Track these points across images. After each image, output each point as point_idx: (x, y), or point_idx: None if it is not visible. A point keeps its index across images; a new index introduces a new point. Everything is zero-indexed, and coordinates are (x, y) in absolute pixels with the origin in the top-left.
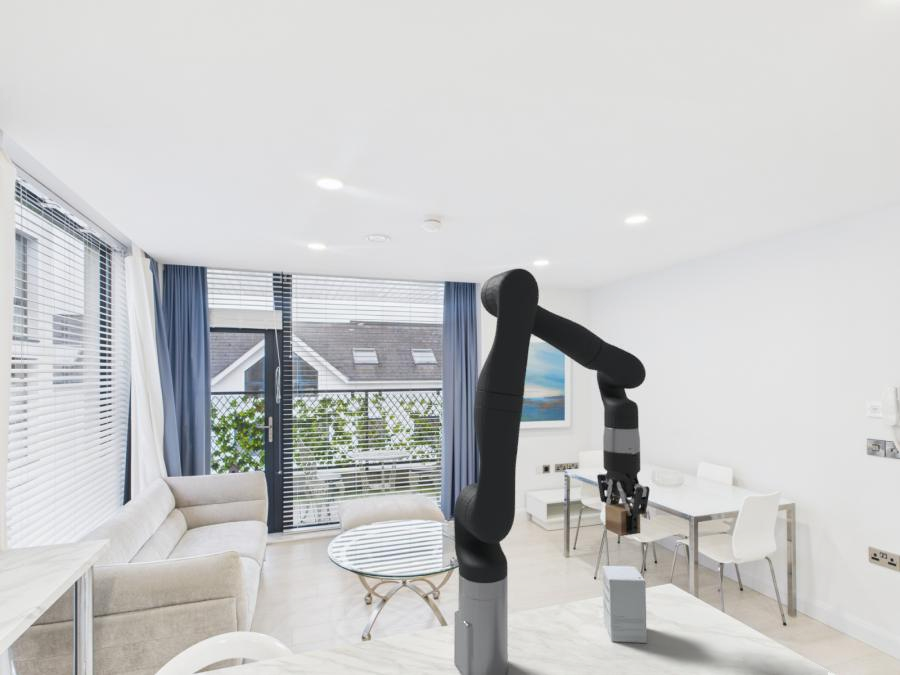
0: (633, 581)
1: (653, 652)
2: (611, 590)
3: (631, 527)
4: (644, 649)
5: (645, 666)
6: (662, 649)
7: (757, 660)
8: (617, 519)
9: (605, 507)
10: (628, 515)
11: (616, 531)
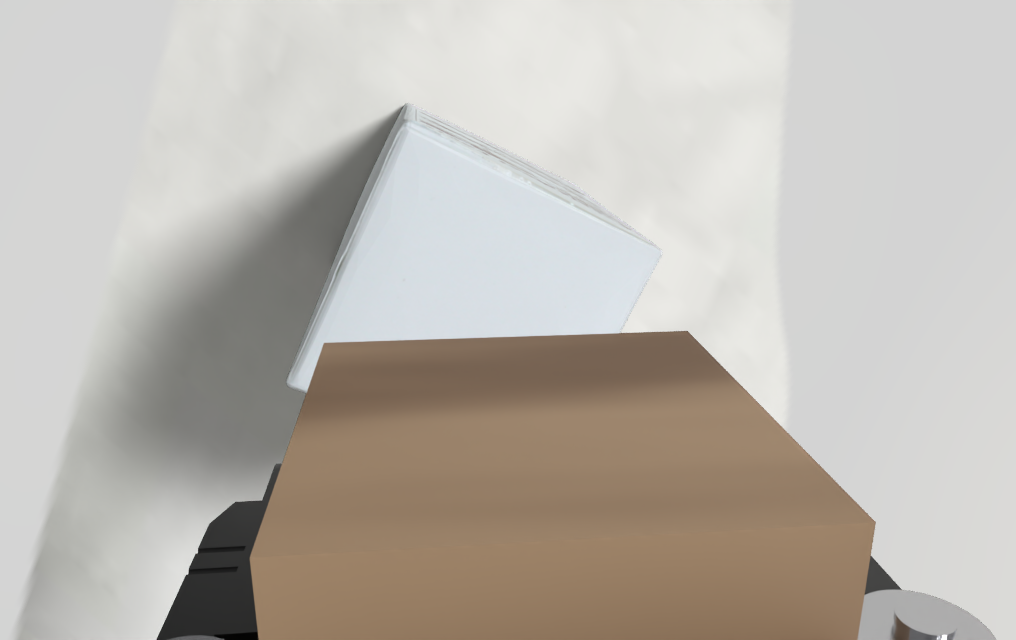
0: (322, 300)
1: (255, 243)
2: (397, 124)
3: (222, 536)
4: (291, 219)
5: (157, 115)
6: (265, 304)
7: (73, 625)
8: (405, 440)
9: (838, 493)
10: (184, 636)
11: (437, 352)
